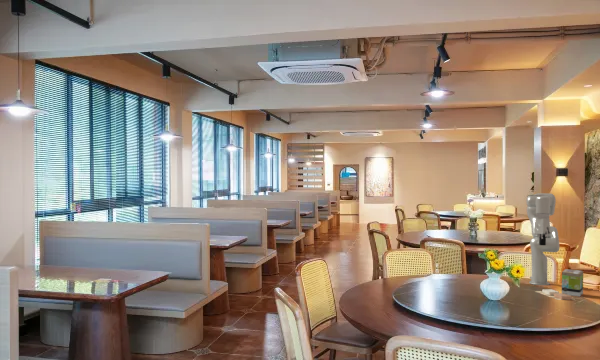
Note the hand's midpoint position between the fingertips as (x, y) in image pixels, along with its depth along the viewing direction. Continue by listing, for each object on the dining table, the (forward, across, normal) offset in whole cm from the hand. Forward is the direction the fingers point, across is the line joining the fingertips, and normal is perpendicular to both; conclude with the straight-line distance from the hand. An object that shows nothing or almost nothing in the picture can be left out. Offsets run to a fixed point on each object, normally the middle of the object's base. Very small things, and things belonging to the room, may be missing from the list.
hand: (542, 245), depth 288 cm
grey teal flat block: (+27, +9, -3) cm, 28 cm away
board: (+29, +16, -3) cm, 33 cm away
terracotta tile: (+27, +20, -3) cm, 34 cm away
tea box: (+29, +11, +12) cm, 34 cm away
